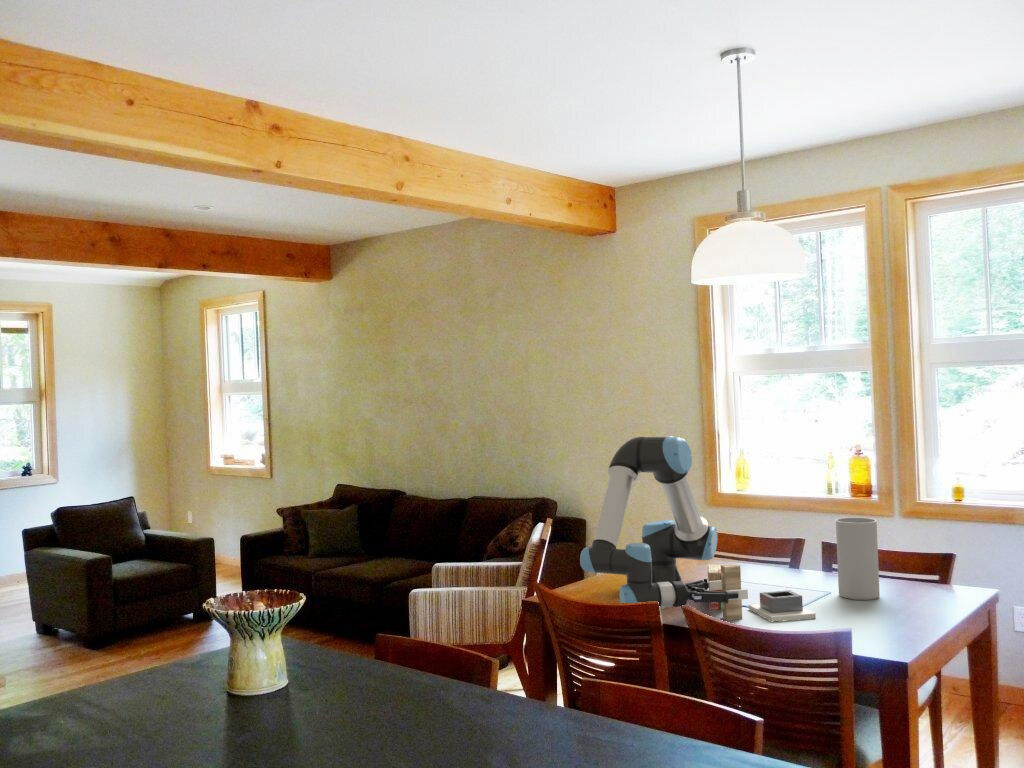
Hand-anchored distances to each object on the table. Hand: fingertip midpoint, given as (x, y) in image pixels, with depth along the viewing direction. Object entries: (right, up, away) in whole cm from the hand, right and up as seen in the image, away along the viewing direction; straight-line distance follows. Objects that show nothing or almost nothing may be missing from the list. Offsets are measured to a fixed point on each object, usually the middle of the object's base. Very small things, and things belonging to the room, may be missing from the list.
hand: (737, 589), depth 269 cm
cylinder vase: (+45, -8, +21) cm, 51 cm away
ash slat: (-2, -9, 0) cm, 9 cm away
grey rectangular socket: (+14, -7, +3) cm, 16 cm away
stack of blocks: (-1, -9, +20) cm, 22 cm away
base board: (+14, -8, +3) cm, 16 cm away
